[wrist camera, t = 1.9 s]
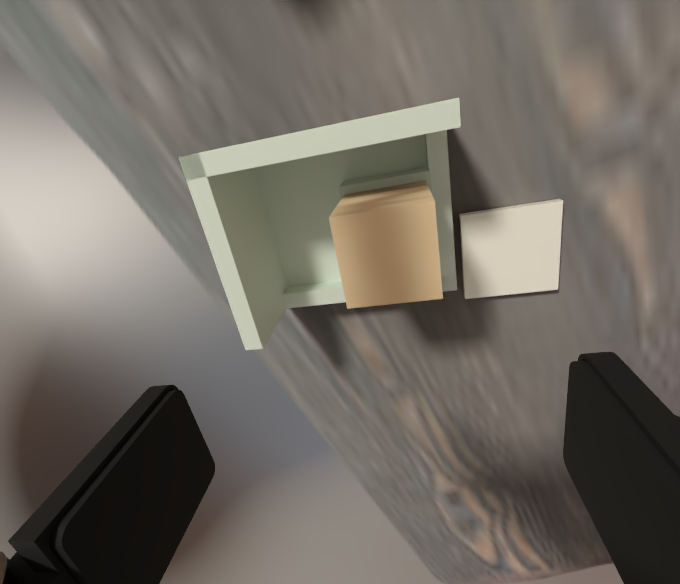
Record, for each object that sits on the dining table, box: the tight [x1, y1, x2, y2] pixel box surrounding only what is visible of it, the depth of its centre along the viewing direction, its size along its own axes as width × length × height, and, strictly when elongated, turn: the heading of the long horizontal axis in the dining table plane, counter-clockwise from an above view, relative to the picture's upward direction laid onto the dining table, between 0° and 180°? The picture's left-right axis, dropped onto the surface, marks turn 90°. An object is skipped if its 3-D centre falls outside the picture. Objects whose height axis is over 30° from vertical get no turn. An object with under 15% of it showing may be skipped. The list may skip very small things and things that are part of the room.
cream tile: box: [459, 199, 563, 299], centre depth 26 cm, size 6×6×1 cm
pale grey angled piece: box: [178, 98, 461, 350], centre depth 23 cm, size 14×12×8 cm
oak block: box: [329, 180, 443, 309], centre depth 21 cm, size 5×5×6 cm
